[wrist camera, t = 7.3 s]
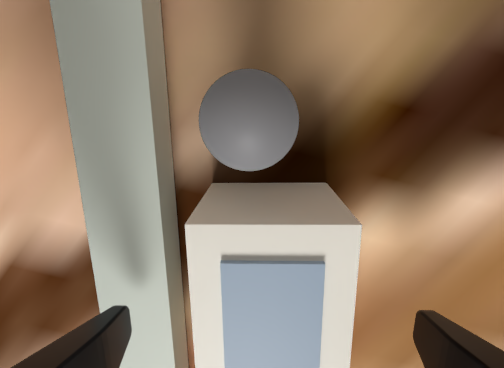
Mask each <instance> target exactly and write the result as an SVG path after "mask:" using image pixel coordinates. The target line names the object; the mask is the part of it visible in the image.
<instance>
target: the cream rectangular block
mask: <svg viewBox="0 0 504 368" xmlns="http://www.w3.org/2000/svg"><path fill="white" fill-rule="evenodd" d="M361 232H362V224H361V223H360V222H359V221H358V219H357V218H356V217H355V216H354V215H353V214H352V212H351V211H350V210H349V209H348V208H347V206H346V205H345V204H344V203H343V202H342V201H341V199H340V198H339V197H338V196H337V195H336V193H335V192H334V191H333V190H332V189H331V188H330V186H329V185H328V184H327V183H212V184H211V186H210V187H209V189H208V190H207V192H206V193H205V195H204V196H203V198H202V199H201V201H200V202H199V204H198V205H197V207H196V208H195V210H194V211H193V213H192V214H191V216H190V217H189V219H188V220H187V222H186V223H185V236H186V249H187V263H188V276H189V290H190V304H191V317H192V331H193V344H194V358H195V368H350V358H351V346H352V335H353V323H354V312H355V300H356V289H357V278H358V266H359V255H360V243H361Z"/></svg>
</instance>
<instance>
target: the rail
mask: <svg viewBox="0 0 504 368" xmlns="http://www.w3.org/2000/svg"><path fill="white" fill-rule="evenodd" d="M50 7H51V13H52V19H53V25H54V31H55V37H56V44H57V50H58V56H59V62H60V68H61V74H62V81H63V87H64V93H65V99H66V105H67V111H68V118H69V124H70V130H71V136H72V142H73V148H74V155H75V161H76V167H77V173H78V179H79V185H80V192H81V198H82V204H83V210H84V216H85V223H86V229H87V235H88V241H89V247H90V253H91V260H92V266H93V272H94V278H95V284H96V290H97V297H98V303H99V309H100V313H102V312H104V311H105V310H107V309H109V308H110V307H112V306H114V305H126V306H128V308H129V311H130V318H131V326H132V333H131V338H130V340H129V343H128V346H127V348H126V351H125V354H124V357H123V359H122V362H121V365H120V367H119V368H189V363H188V350H187V337H186V324H185V312H184V299H183V286H182V273H181V260H180V247H179V234H178V221H177V208H176V195H175V182H174V169H173V156H172V143H171V131H170V118H169V105H168V92H167V79H166V66H165V53H164V40H163V27H162V14H161V1H160V0H50ZM298 127H299V113H298V108H297V104H296V101H295V99H294V97H293V95H292V93H291V92H290V90H289V89H288V88H287V86H286V85H285V84H284V83H283V82H282V81H281V80H279V79H278V78H277V77H275V76H274V75H272V74H270V73H268V72H265V71H262V70H257V69H240V70H236V71H233V72H230V73H228V74H226V75H224V76H222V77H221V78H219V79H218V80H217V81H216V82H215V83H214V84H213V85H212V86H211V87H210V88H209V90H208V91H207V93H206V94H205V96H204V98H203V101H202V103H201V107H200V112H199V128H200V133H201V136H202V139H203V141H204V143H205V145H206V147H207V149H208V150H209V151H210V153H211V154H212V155H213V156H214V157H215V158H216V159H217V160H219V161H220V162H221V163H223V164H224V165H226V166H228V167H230V168H233V169H236V170H241V171H257V170H262V169H265V168H268V167H270V166H272V165H274V164H275V163H277V162H278V161H280V160H281V159H282V158H283V157H284V156H285V155H286V154H287V153H288V151H289V150H290V149H291V147H292V145H293V143H294V141H295V139H296V136H297V132H298Z"/></svg>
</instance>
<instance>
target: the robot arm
mask: <svg viewBox="0 0 504 368" xmlns="http://www.w3.org/2000/svg"><path fill="white" fill-rule="evenodd" d="M131 333H132V326H131V318H130V311H129V308H128V306H126V305H114V306H112V307H110V308H109V309H107V310H105V311H104V312H102V313H100V314H99V315H97V316H95V317H94V318H92V319H90V320H89V321H87V322H85V323H84V324H82V325H81V326H79V327H77V328H76V329H74V330H72V331H71V332H69V333H67V334H66V335H64V336H62V337H61V338H59V339H57V340H56V341H54V342H52V343H51V344H49V345H47V346H46V347H44V348H42V349H41V350H39V351H38V352H36V353H34V354H33V355H31V356H29V357H28V358H26V359H24V360H23V361H21V362H19V363H18V364H16V365H14V366H13V367H11V368H119V367H120V365H121V362H122V359H123V357H124V354H125V351H126V348H127V346H128V343H129V340H130V338H131ZM413 339H414V343H415V345H416V348H417V350H418V353H419V355H420V357H421V360H422V362H423V365H424V367H425V368H504V351H503V350H501V349H499V348H497V347H496V346H494V345H492V344H490V343H489V342H487V341H485V340H483V339H482V338H480V337H478V336H477V335H475V334H473V333H471V332H470V331H468V330H466V329H464V328H463V327H461V326H459V325H458V324H456V323H454V322H452V321H451V320H449V319H447V318H445V317H444V316H442V315H440V314H438V313H437V312H435V311H432V310H419V311H418V312H417V313H416V318H415V324H414V331H413Z"/></svg>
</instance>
